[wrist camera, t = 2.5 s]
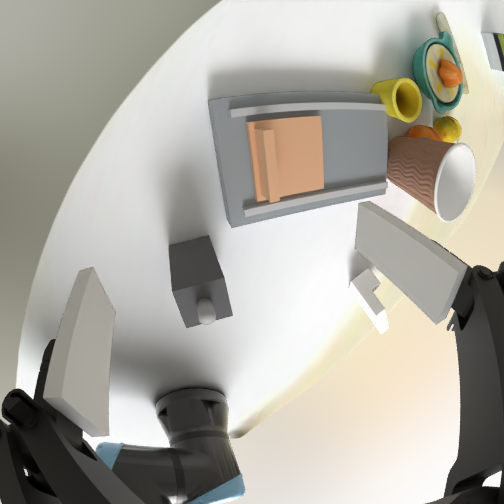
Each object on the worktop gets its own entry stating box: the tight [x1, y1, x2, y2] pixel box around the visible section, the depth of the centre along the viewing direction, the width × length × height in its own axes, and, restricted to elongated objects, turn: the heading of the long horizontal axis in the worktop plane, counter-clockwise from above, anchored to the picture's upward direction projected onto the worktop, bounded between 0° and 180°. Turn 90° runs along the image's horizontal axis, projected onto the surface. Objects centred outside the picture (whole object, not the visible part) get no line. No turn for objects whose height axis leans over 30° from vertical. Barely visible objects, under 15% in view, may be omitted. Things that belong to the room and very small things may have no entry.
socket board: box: [208, 91, 388, 228], centre depth 29 cm, size 22×14×3 cm, turn 97°
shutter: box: [246, 116, 324, 203], centre depth 26 cm, size 8×8×3 cm
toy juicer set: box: [371, 13, 469, 143], centre depth 27 cm, size 29×18×8 cm, turn 139°
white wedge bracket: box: [349, 268, 389, 334], centre depth 41 cm, size 4×10×9 cm, turn 31°
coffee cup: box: [386, 136, 476, 222], centre depth 29 cm, size 10×10×12 cm
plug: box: [169, 236, 233, 328], centre depth 29 cm, size 5×5×11 cm
